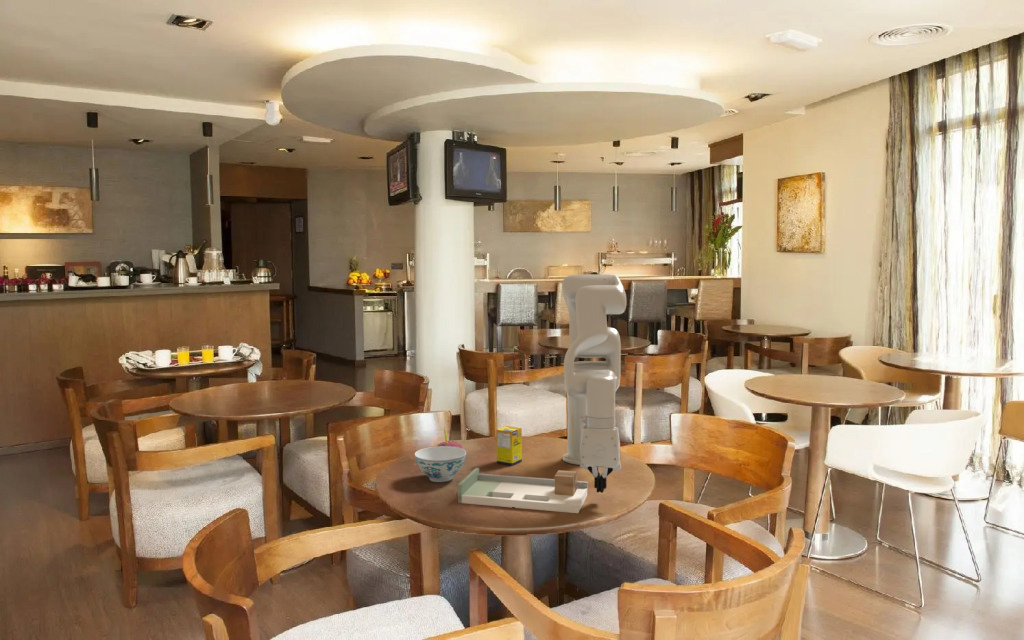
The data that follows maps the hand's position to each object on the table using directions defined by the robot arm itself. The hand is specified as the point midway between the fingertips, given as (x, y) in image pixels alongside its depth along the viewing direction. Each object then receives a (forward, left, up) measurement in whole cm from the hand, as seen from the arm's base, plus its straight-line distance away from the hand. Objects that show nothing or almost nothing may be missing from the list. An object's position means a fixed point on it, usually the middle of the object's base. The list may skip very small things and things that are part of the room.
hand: (600, 490), depth 184 cm
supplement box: (-30, -33, -3) cm, 45 cm away
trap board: (+2, -20, -3) cm, 21 cm away
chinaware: (-9, -48, -3) cm, 49 cm away
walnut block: (0, -9, -1) cm, 9 cm away
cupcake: (-24, -51, -3) cm, 57 cm away
